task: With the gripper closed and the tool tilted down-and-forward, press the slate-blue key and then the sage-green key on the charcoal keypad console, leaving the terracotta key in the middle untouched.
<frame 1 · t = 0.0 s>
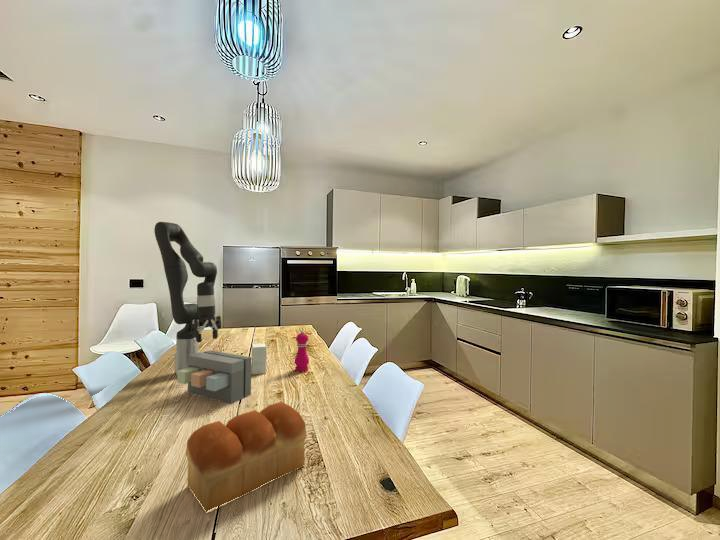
hand: (207, 340, 150), 17 cm above the table, tool pointing down, fingers open, 8 cm apart
keypad console: (208, 397, 127), on the table
bread: (249, 477, 79), on the table
pepper mill: (301, 370, 163), on the table
small box: (258, 372, 160), on the table
sage key: (190, 374, 128), point 8 cm above the table, slide at 0.0 cm
slate key: (219, 380, 121), point 8 cm above the table, slide at 0.0 cm
terracotta key: (204, 377, 125), point 9 cm above the table, slide at 0.0 cm
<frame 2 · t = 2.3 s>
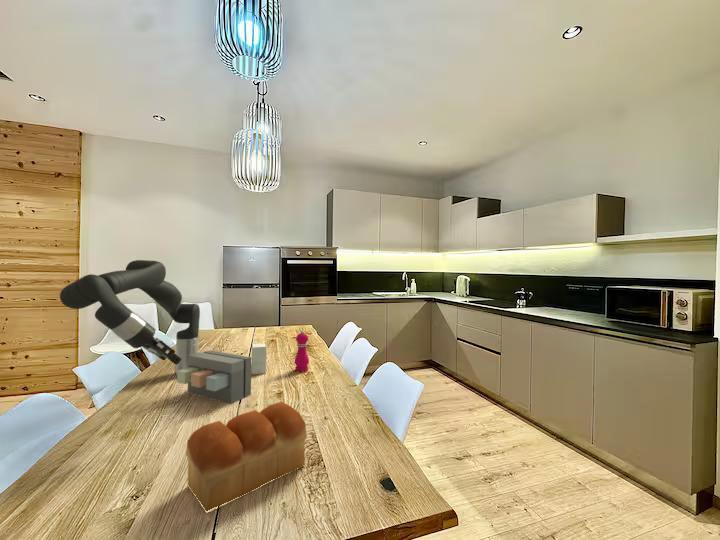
hand: (172, 359, 107), 20 cm above the table, tool tilted 45°, fingers open, 8 cm apart
nothing on the table moved.
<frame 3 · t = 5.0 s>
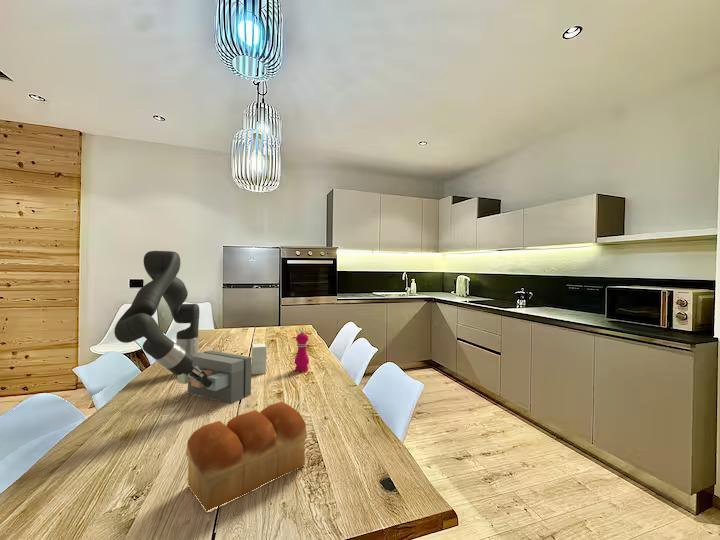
hand: (209, 384, 118), 8 cm above the table, tool tilted 45°, fingers closed
slate key: (220, 380, 122), point 8 cm above the table, slide at 0.4 cm, touching gripper
everything else where it was.
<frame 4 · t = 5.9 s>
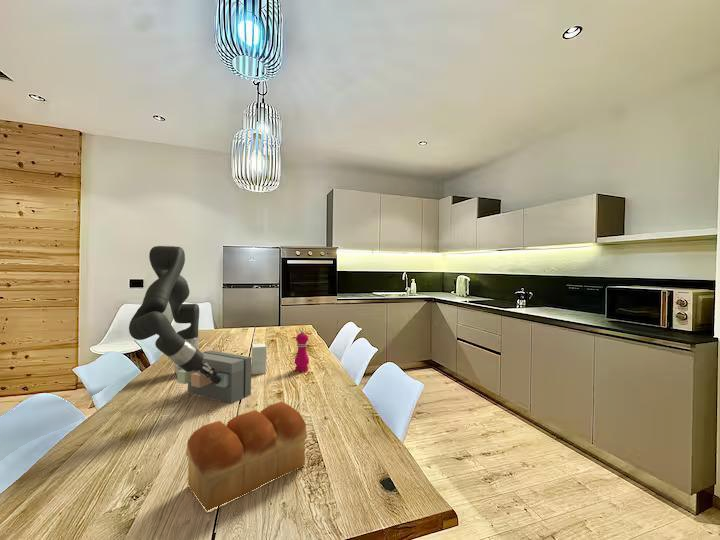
hand: (218, 381, 121), 8 cm above the table, tool tilted 45°, fingers closed
slate key: (228, 377, 125), point 8 cm above the table, slide at 4.3 cm, touching gripper
everything else where it was.
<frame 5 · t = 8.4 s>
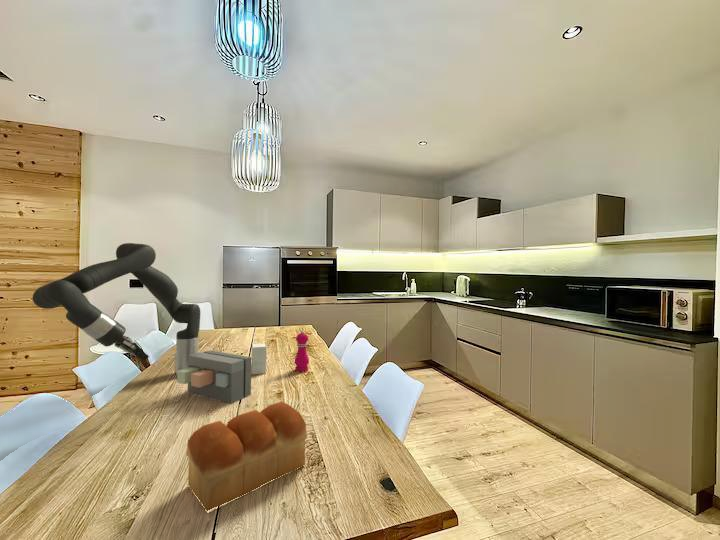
hand: (145, 358, 114), 18 cm above the table, tool tilted 45°, fingers closed
slate key: (228, 377, 125), point 9 cm above the table, slide at 4.3 cm
everything else where it was.
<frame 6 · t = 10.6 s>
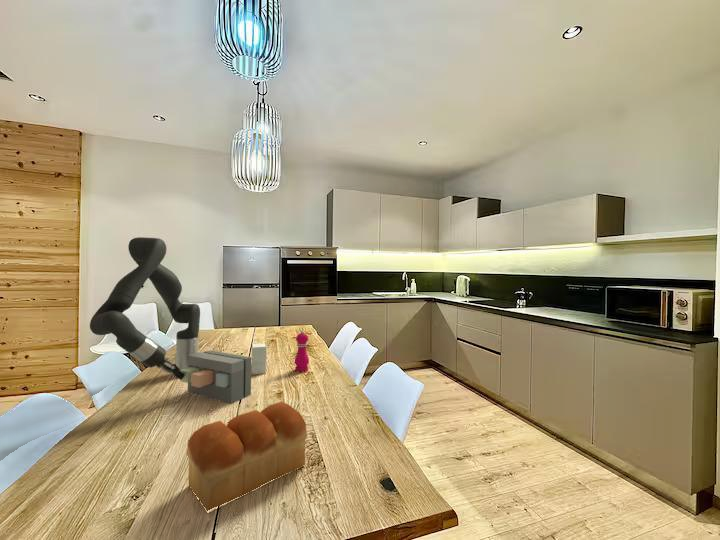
hand: (182, 377, 125), 8 cm above the table, tool tilted 45°, fingers closed
sage key: (193, 373, 129), point 8 cm above the table, slide at 1.3 cm, touching gripper
everything else where it was.
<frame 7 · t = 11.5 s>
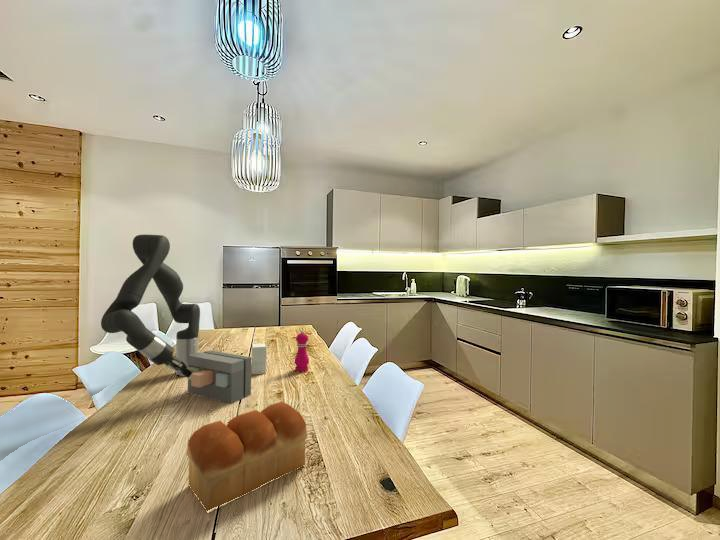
hand: (189, 374, 128), 8 cm above the table, tool tilted 45°, fingers closed
sage key: (199, 371, 132), point 9 cm above the table, slide at 4.3 cm, touching gripper
everything else where it was.
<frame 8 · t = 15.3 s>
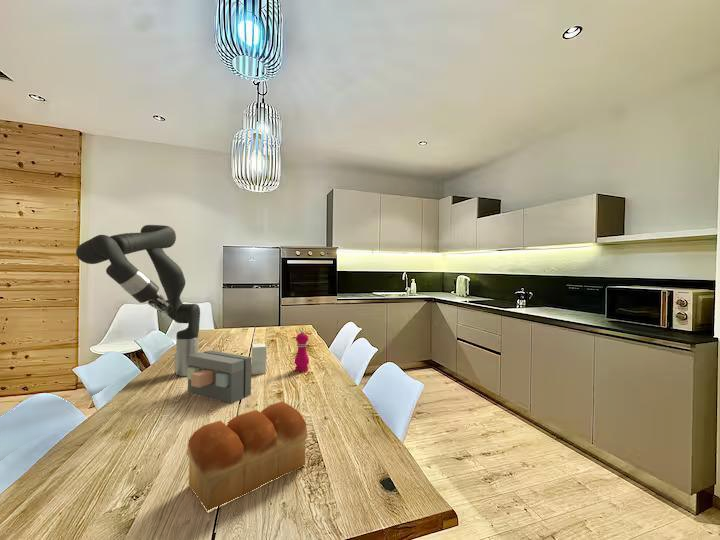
hand: (176, 318, 120), 32 cm above the table, tool tilted 45°, fingers closed
sage key: (199, 371, 132), point 9 cm above the table, slide at 4.3 cm
everything else where it was.
at the end: slate key slide at 4.3 cm; sage key slide at 4.3 cm; terracotta key slide at 0.0 cm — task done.
